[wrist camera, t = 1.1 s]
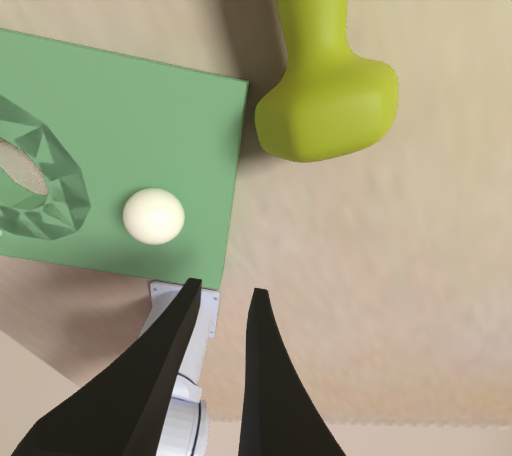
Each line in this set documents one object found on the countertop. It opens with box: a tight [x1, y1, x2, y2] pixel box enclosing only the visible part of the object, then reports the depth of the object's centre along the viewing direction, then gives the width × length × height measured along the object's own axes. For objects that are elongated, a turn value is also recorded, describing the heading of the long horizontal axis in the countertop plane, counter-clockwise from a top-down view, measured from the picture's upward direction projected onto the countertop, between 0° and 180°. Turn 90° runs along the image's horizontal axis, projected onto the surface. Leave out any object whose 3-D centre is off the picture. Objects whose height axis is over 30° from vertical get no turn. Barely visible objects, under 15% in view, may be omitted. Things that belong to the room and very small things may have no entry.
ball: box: [123, 188, 185, 245], centre depth 17 cm, size 4×4×4 cm
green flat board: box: [0, 28, 249, 289], centre depth 19 cm, size 18×23×2 cm
